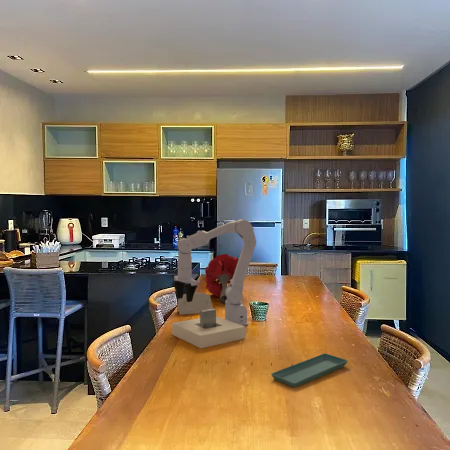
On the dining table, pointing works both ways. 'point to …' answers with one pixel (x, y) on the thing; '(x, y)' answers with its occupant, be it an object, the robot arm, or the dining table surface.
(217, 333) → the well block
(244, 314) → the robot arm
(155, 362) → the dining table surface
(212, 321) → the tall grey block
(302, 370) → the rectangular tray
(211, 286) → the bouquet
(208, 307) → the grey rounded block
